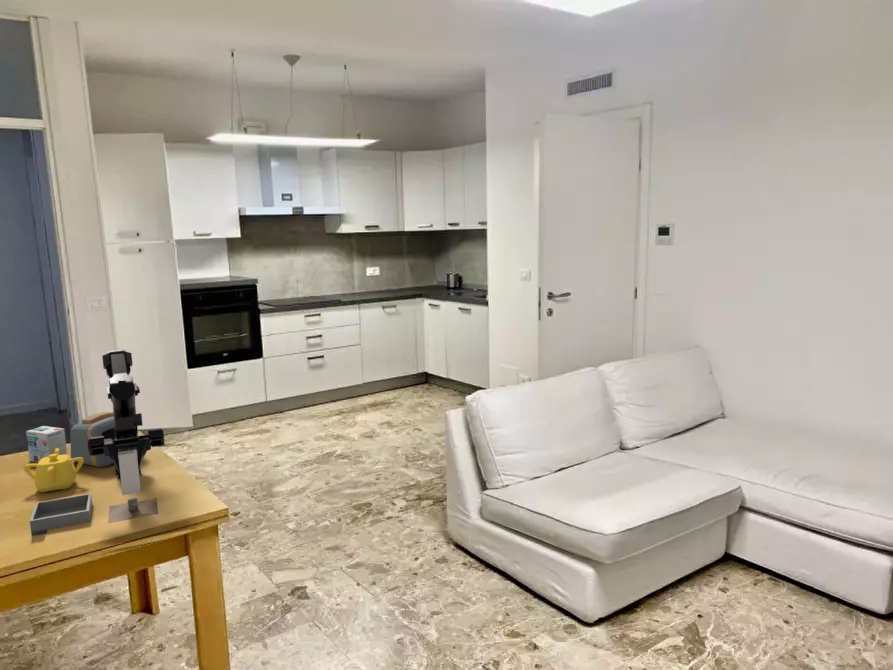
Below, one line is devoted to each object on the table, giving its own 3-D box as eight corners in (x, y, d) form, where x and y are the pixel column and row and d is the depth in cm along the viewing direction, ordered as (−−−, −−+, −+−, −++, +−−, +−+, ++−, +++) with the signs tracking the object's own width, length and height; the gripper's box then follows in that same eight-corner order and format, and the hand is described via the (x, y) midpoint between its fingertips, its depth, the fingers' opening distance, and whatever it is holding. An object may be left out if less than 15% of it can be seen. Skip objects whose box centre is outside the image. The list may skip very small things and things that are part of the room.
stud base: (156, 501, 187) (155, 487, 186) (158, 517, 176) (157, 502, 175) (109, 509, 182) (108, 496, 181) (108, 526, 171) (107, 512, 170)
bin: (92, 506, 184) (91, 493, 183) (90, 525, 172) (88, 510, 171) (38, 516, 178) (36, 502, 178) (31, 535, 166) (29, 521, 166)
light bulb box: (28, 461, 224) (24, 430, 222) (47, 454, 230) (43, 425, 228) (50, 464, 220) (46, 433, 218) (68, 458, 226) (65, 428, 224)
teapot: (20, 491, 197) (16, 458, 195) (61, 476, 209) (57, 445, 207) (50, 497, 191) (46, 464, 190) (90, 482, 203) (86, 450, 201)
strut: (140, 486, 181) (136, 445, 179) (140, 492, 177) (136, 449, 175) (122, 489, 179) (118, 447, 177) (122, 495, 175) (118, 452, 173)
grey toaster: (101, 469, 214) (96, 422, 211) (68, 463, 221) (63, 417, 218) (143, 454, 228) (139, 410, 226) (111, 448, 235) (107, 405, 233)
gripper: (84, 409, 174) (86, 461, 166) (160, 400, 182) (166, 449, 174) (88, 429, 182) (91, 480, 174) (161, 420, 190) (167, 468, 182)
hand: (129, 469), depth 176 cm, fingers closed on strut, 4 cm apart
